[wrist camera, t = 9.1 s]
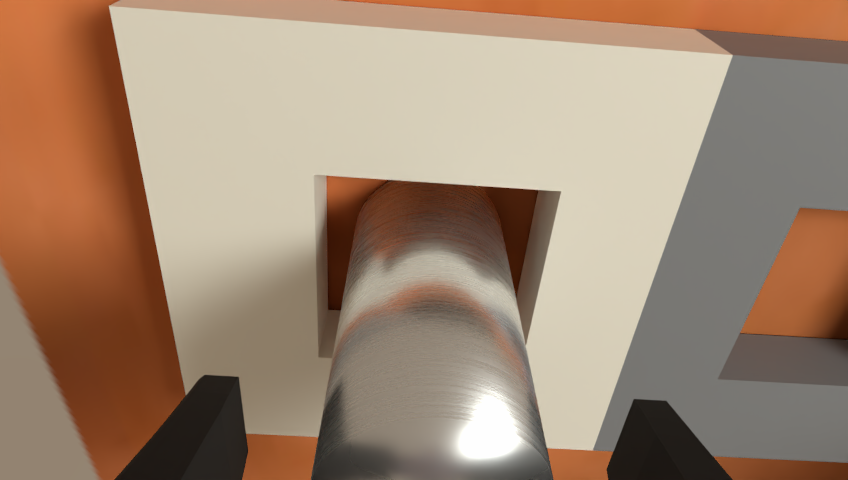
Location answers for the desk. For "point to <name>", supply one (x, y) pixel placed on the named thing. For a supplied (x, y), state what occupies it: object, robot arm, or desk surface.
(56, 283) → the desk surface
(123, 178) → the desk surface
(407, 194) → the steel peg
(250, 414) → the dock board
